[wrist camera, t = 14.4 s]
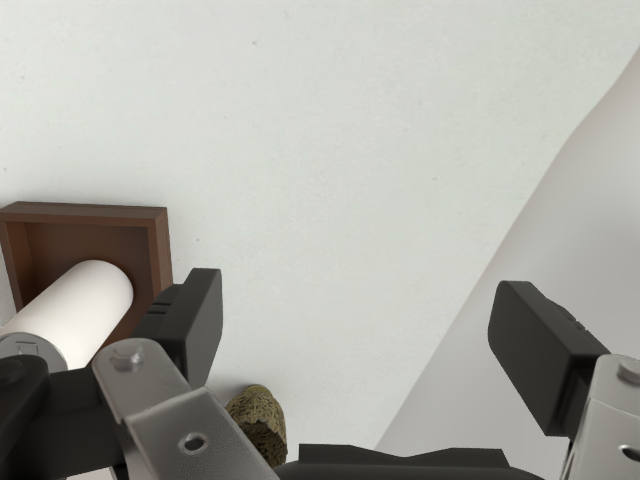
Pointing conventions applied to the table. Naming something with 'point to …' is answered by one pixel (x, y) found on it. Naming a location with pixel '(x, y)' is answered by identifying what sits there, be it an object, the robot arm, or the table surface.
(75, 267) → the can
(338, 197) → the table surface
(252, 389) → the cup
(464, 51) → the table surface
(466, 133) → the table surface
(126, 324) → the tray
